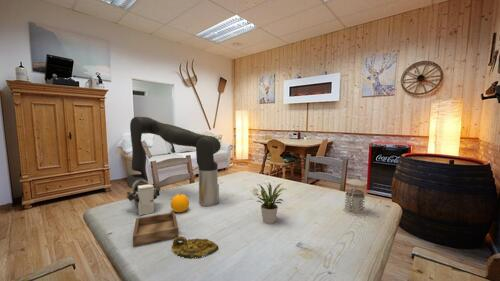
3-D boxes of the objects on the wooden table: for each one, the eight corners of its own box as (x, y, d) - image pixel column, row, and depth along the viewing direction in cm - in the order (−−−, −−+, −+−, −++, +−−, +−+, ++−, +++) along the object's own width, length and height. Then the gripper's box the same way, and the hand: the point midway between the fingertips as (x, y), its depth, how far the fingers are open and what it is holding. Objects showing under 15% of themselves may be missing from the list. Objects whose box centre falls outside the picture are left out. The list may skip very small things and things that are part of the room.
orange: (167, 212, 94) (166, 196, 93) (179, 206, 101) (178, 190, 101) (181, 215, 91) (181, 198, 90) (192, 208, 98) (192, 193, 98)
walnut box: (174, 220, 87) (174, 211, 86) (178, 237, 74) (178, 227, 74) (136, 227, 81) (136, 218, 81) (133, 246, 68) (132, 236, 68)
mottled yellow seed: (219, 243, 73) (174, 245, 72) (219, 230, 73) (175, 231, 72) (217, 258, 64) (166, 260, 62) (217, 242, 64) (166, 244, 62)
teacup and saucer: (266, 194, 119) (266, 187, 119) (259, 199, 112) (259, 191, 112) (253, 191, 124) (253, 185, 123) (245, 195, 117) (245, 188, 117)
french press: (368, 211, 97) (372, 158, 94) (361, 220, 88) (365, 161, 86) (346, 205, 103) (349, 155, 101) (337, 213, 95) (340, 158, 92)
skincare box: (139, 215, 90) (138, 188, 89) (138, 211, 94) (137, 185, 93) (154, 212, 94) (153, 186, 93) (153, 208, 98) (152, 183, 96)
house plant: (291, 216, 92) (292, 179, 90) (286, 231, 79) (287, 189, 77) (260, 211, 96) (260, 176, 95) (250, 225, 83) (251, 185, 82)
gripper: (124, 183, 101) (127, 193, 87) (156, 178, 109) (163, 187, 95) (125, 198, 102) (128, 210, 88) (157, 192, 110) (164, 203, 96)
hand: (146, 198), depth 91 cm, fingers closed on skincare box, 6 cm apart
